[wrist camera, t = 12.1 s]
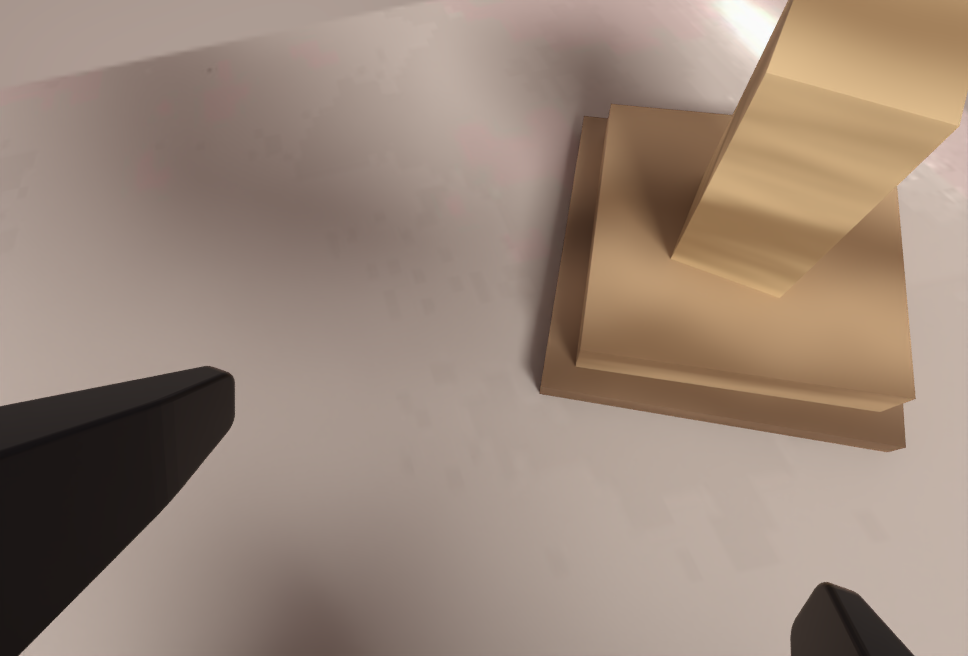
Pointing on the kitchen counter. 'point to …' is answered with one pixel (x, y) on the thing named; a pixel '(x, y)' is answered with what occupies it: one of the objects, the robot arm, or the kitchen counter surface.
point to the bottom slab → (673, 396)
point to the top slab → (733, 286)
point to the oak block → (825, 133)
